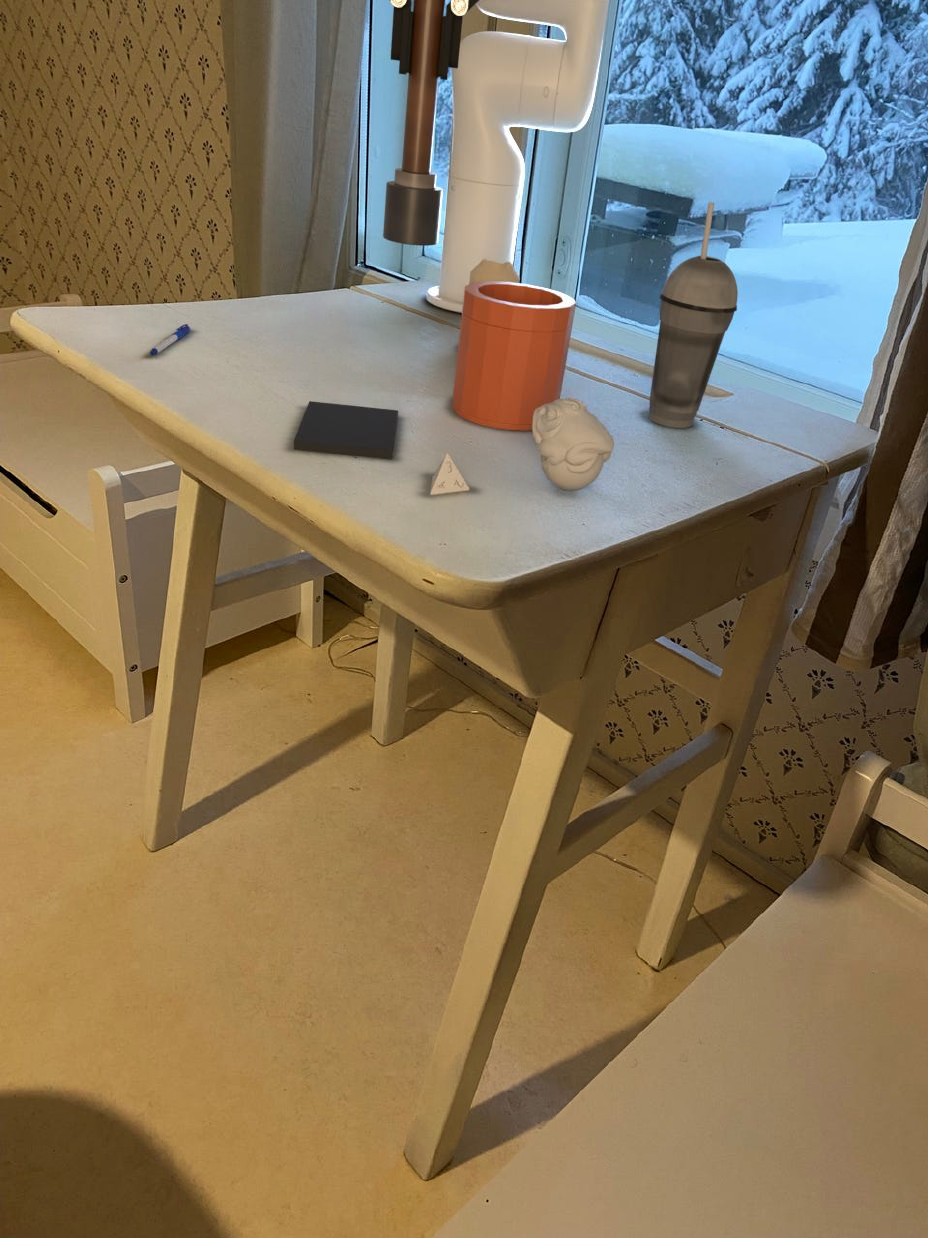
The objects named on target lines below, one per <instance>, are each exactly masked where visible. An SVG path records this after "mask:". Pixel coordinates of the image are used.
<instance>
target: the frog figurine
mask: <svg viewBox="0 0 928 1238" xmlns="http://www.w3.org/2000/svg"><path fill="white" fill-rule="evenodd" d="M531 431H532V436H533V439H534V444H536V445H538V446H537V450H538V453H539V455H540V466H541V469H542V472H543V474H544V476H545V477H546V478H547V479H548V481H549V482H550V483H551V484H553V485H554V486H556V487H558V488H559V489H563V490H567V491H576V490H581V489H584V488H585V487H588V486H589V485H591V484H592V483H594V482H595V481H596V479H598V477H599V475H600V474H601V472H602V470H603V468H604V467H603V466H604V465H605V464H604V463H606V462H608V461H609V459H610V458H611V456H612V453H613V450H614V446H615V441H614V438H613V436H612V435H611V433H610V432H609V431H608V429H607V427H606V426H605V425H604V423H603V422H601V420H599V419H598V417H597V416H596V415H595V414H594V413H592V412H591V411H589V410H588V409H587V405H586V404H585V403H584V402H583V401H580V400H579V399H577V398H575V397H564V398H560V399H557V400H555V401H553V402H552V403H548V404H544V405H543V406H541V407H538V408H537V409H536V410H535V411H534V414H533V422H532V430H531Z"/></svg>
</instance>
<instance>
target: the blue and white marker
mask: <svg viewBox="0 0 928 1238" xmlns="http://www.w3.org/2000/svg"><path fill="white" fill-rule="evenodd" d="M175 330H176V331H175V332H173V333H172V335H170V336H169V337H167V338H165V339H164V340H163V341H161V342H160V343H158V344H156V346H154V347H152V349H150V351H149V355H150V356H156V355H158V354H159V353H161V352H162V351H163V350H165V349H166V348H168V347H169V346H170V345H172V344H174V343H175V342H176V341H178V340H180V339H181V338H182V337H184V336H186V335H187V334H188V333H189V332H190V331H191V327H190V326H189V324H187V323H185V324H182V325H181V326H179V327H178V328H176V329H175Z"/></svg>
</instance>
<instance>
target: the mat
mask: <svg viewBox="0 0 928 1238" xmlns="http://www.w3.org/2000/svg"><path fill="white" fill-rule="evenodd" d="M398 418H399V410H397V409H388V408H379V407H368V406H360V405H350V404H341V403H333V402H332V403H331V402H322V401H321V402H320V401H312V400H309V401H308V404H307V406H306V408H305V412H304V413H303V416H302V419H301V422H300V423H299V426H298V429H297V430H296V431H297V432H296V434H295V436H294V439H293V450H297V451H307V452H316V453H327V454H336V455H347V456H355V457H366V458H375V459H376V458H377V459H385V460H386V459H387V460H393V457H394V448H395V442H396V435H397V434H396V433H397V427H398V420H399V419H398Z"/></svg>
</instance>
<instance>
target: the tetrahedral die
mask: <svg viewBox="0 0 928 1238" xmlns="http://www.w3.org/2000/svg"><path fill="white" fill-rule="evenodd" d="M430 483H431V484H430V496H435V495H436V496H437V495H444V494H452V493H460V492H461V493H462V492H468V491H470V487H469V485H468V484H467V482H466V480H465V478H464V477H463V475H462V473H461V472H460V470H459V468H458V467H457V465H456V464H455V462H454V460H453V458H452V457H451V455H450V453H446V454H445V456H444V457H443V459H442V461H441V462H440V464H439V465H438V467H437V468H436V470H435V472H434V473H433V475H432V476H431V482H430Z"/></svg>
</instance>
